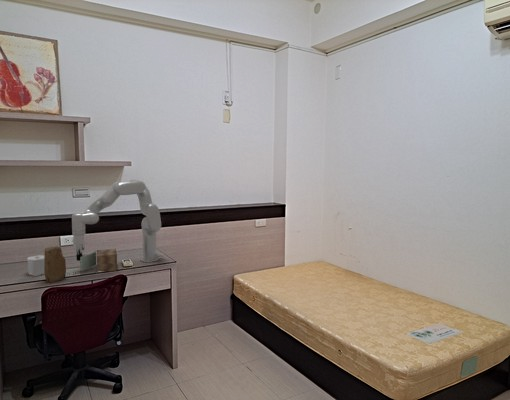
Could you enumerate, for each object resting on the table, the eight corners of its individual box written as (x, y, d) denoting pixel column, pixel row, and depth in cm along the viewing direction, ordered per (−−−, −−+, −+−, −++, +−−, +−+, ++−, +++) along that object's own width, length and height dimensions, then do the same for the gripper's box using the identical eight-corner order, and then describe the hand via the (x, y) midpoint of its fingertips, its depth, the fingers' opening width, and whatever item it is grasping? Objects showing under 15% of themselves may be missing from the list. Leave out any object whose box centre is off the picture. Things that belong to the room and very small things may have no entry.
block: (46, 283, 218) (45, 249, 216) (44, 279, 224) (42, 247, 221) (67, 279, 225) (66, 247, 223) (63, 276, 231) (62, 244, 228)
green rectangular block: (96, 264, 252) (96, 250, 251) (82, 270, 239) (81, 256, 238) (93, 264, 253) (93, 250, 252) (78, 270, 240) (78, 256, 238)
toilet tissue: (43, 269, 243) (42, 254, 241) (51, 273, 235) (50, 258, 234) (25, 272, 234) (24, 257, 233) (32, 277, 227) (32, 261, 226)
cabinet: (116, 264, 257) (115, 248, 256) (117, 270, 245) (116, 254, 243) (97, 266, 253) (96, 250, 251) (97, 272, 240) (96, 255, 238)
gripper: (69, 230, 242) (70, 258, 244) (75, 235, 230) (76, 264, 233) (82, 229, 247) (82, 256, 249) (88, 233, 235) (88, 262, 237)
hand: (79, 260), depth 241 cm, fingers closed
